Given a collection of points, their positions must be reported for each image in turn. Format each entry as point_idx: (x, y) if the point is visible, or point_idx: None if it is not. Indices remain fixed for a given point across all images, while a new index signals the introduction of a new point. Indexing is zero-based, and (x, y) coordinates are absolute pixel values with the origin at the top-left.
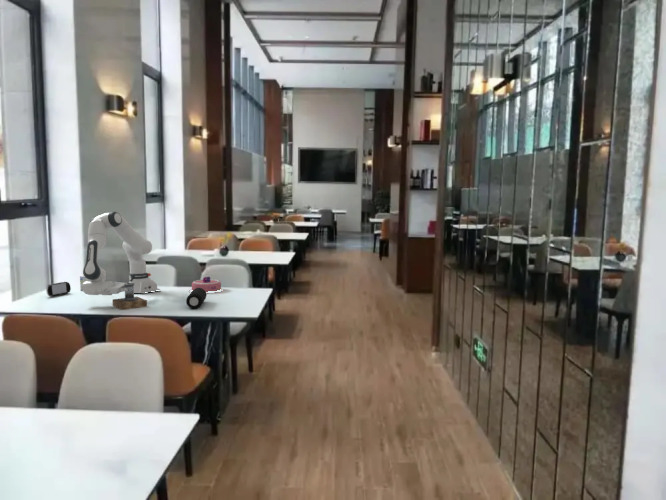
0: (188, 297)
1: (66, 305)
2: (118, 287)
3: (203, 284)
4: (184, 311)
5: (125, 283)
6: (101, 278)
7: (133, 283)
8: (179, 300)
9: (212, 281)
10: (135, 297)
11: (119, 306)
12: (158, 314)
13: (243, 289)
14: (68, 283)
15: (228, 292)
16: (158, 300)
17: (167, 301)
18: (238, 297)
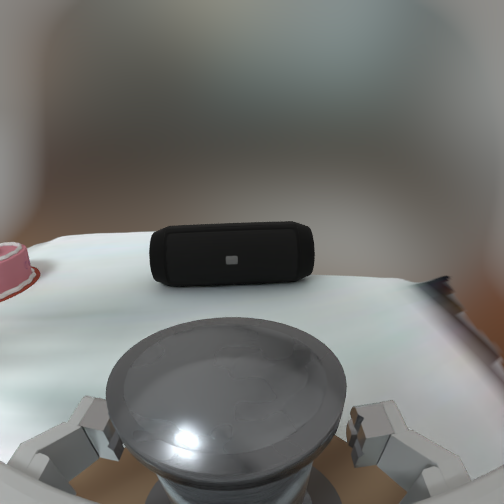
0: (312, 239)
1: None
2: (497, 480)
3: (13, 256)
4: (344, 286)
5: (164, 448)
6: None
7: (193, 329)
8: (107, 323)
9: None
10: (99, 483)
11: None
12: (428, 321)
13: (36, 251)
14: None
15: (50, 260)
16: (61, 387)
17: (111, 354)
18: (129, 247)
